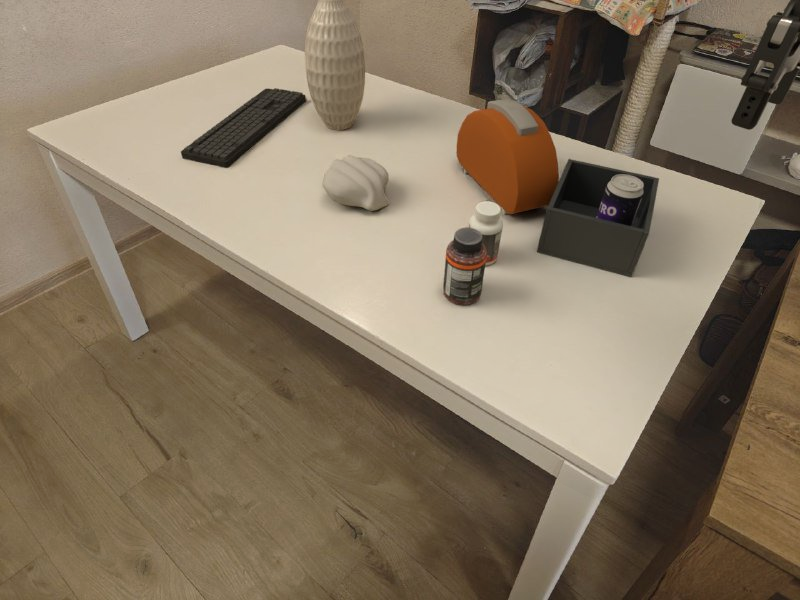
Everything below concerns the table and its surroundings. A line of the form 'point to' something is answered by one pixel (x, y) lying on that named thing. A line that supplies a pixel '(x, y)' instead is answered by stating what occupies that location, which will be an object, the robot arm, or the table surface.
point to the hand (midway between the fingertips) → (756, 113)
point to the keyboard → (243, 128)
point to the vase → (335, 64)
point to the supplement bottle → (464, 267)
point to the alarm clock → (509, 155)
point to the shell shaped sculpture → (357, 182)
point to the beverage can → (621, 199)
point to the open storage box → (594, 220)
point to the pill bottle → (488, 227)
